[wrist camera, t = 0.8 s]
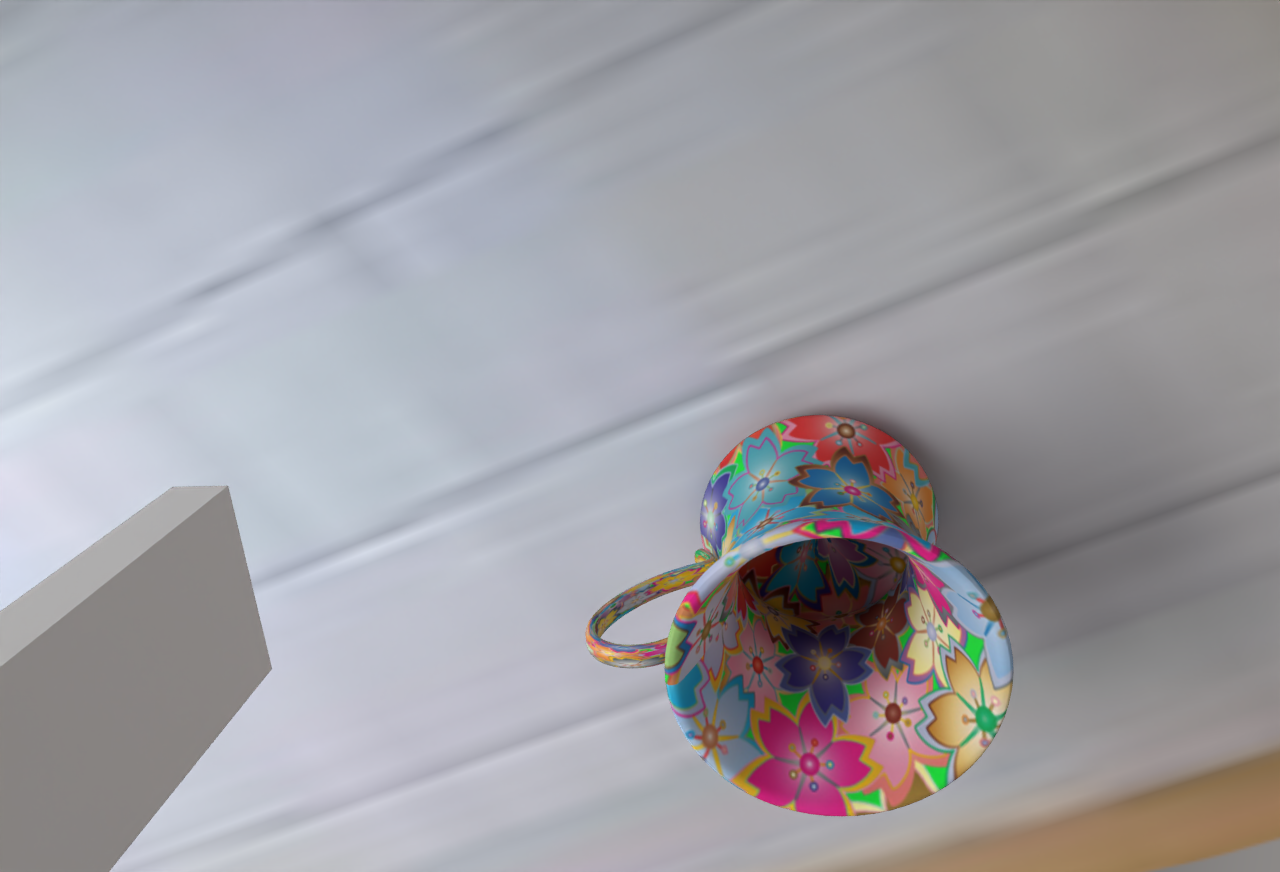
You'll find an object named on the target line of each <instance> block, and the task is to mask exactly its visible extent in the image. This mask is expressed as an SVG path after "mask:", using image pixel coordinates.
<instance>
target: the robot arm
mask: <svg viewBox="0 0 1280 872" xmlns="http://www.w3.org/2000/svg"><path fill="white" fill-rule="evenodd" d="M271 669H272V667H271V663H270V658H269V654H268V650H267V646H266V642H265V638H264V633H263V629H262V625H261V621H260V617H259V613H258V608H257V604H256V600H255V596H254V592H253V588H252V583H251V579H250V575H249V571H248V567H247V563H246V558H245V554H244V550H243V546H242V542H241V538H240V533H239V529H238V525H237V521H236V517H235V513H234V509H233V504H232V500H231V496H230V492H229V488H228V486H194V487H172V488H170V489H169V490H168V491H166V492H165V493H164V494H162V495H161V496H159V497H158V498H157V499H155V500H154V501H152V502H151V503H150V504H148V505H147V506H146V507H144V508H143V509H141V510H140V511H139V512H137V513H136V514H134V515H133V516H132V517H130V518H129V519H128V520H126V521H125V522H123V523H122V524H121V525H119V526H118V527H116V528H115V529H114V530H112V531H111V532H110V533H108V534H107V535H105V536H104V537H103V538H101V539H100V540H98V541H97V542H96V543H94V544H93V545H92V546H90V547H89V548H87V549H86V550H85V551H83V552H82V553H80V554H79V555H78V556H76V557H75V558H74V559H72V560H71V561H69V562H68V563H67V564H65V565H64V566H62V567H61V568H60V569H58V570H57V571H56V572H54V573H53V574H51V575H50V576H49V577H47V578H46V579H44V580H43V581H42V582H40V583H39V584H38V585H36V586H35V587H33V588H32V589H31V590H29V591H28V592H26V593H25V594H24V595H22V596H21V597H20V598H18V599H17V600H15V601H14V602H13V603H11V604H10V605H8V606H7V607H6V608H4V609H3V610H1V611H0V872H109V871H110V870H111V869H112V867H113V866H114V865H115V864H116V862H117V861H118V860H119V859H120V857H121V856H122V855H123V854H124V852H125V851H126V850H127V849H128V847H129V846H130V845H131V844H132V842H133V841H134V840H135V839H136V837H137V836H138V835H139V834H140V832H141V831H142V830H143V829H144V827H145V826H146V825H147V824H148V822H149V821H150V820H151V819H152V817H153V816H154V815H155V814H156V813H157V811H158V810H159V809H160V808H161V806H162V805H163V804H164V803H165V801H166V800H167V799H168V798H169V796H170V795H171V794H172V793H173V791H174V790H175V789H176V788H177V786H178V785H179V784H180V783H181V781H182V780H183V779H184V778H185V776H186V775H187V774H188V773H189V771H190V770H191V769H192V768H193V766H194V765H195V764H196V763H197V761H198V760H199V759H200V758H201V756H202V755H203V754H204V753H205V751H206V750H207V749H208V748H209V746H210V745H211V744H212V743H213V742H214V740H215V739H216V738H217V737H218V735H219V734H220V733H221V732H222V730H223V729H224V728H225V727H226V725H227V724H228V723H229V722H230V720H231V719H232V718H233V717H234V715H235V714H236V713H237V712H238V710H239V709H240V708H241V707H242V705H243V704H244V703H245V702H246V700H247V699H248V698H249V697H250V695H251V694H252V693H253V692H254V690H255V689H256V688H257V687H258V685H259V684H260V683H261V682H262V680H263V679H264V678H265V677H266V676H267V674H268V673H269V672H270V671H271Z"/></svg>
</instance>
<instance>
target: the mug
mask: <svg viewBox="0 0 1280 872" xmlns="http://www.w3.org/2000/svg"><path fill="white" fill-rule="evenodd" d="M700 528H701V537H702V543H703V547H704V549H699V550H697V551H696V552H695V562H696V563H695V564H691V565H688V566H684V567H681V568H678V569H674V570H671V571H668V572H665V573H663V574H660V575H657V576H655V577H652V578H650V579H648V580H645V581H643V582H641V583H639V584H637V585H635V586H633V587H631V588H629V589H627V590H626V591H624V592H622V593H621V594H619V595H617V596H616V597H614V598H613V599H611V600H610V601H609V602H607V603H606V604H605V605H603V606H602V607H601V608H600V609H599V610H598V611H597V612H596V613H595V614H594V615H593V617H592V618H591V619H590V621H589V623H588V625H587V628H586V633H585V635H586V644H587V648H588V650H589V652H590V654H591V655H592V656H593V657H594V658H595V659H597V660H598V661H600V662H602V663H604V664H607V665H610V666H614V667H620V668H644V667H650V666H655V665H659V664H663V663H665V682H666V687H667V693H668V697H669V701H670V704H671V708H672V710H673V713H674V715H675V718H676V720H677V722H678V724H679V726H680V728H681V730H682V732H683V733H684V735H685V737H686V738H687V740H688V741H689V743H690V744H691V746H692V747H693V748H694V750H695V751H696V752H697V753H698V754H699V756H700V757H701V758H702V759H703V760H704V761H705V762H706V763H707V764H708V765H709V766H710V767H711V768H712V769H713V770H714V771H715V772H717V773H718V774H719V775H720V776H722V777H723V778H724V779H725V780H727V781H728V782H730V783H731V784H733V785H734V786H736V787H737V788H739V789H741V790H742V791H744V792H746V793H748V794H750V795H752V796H754V797H756V798H758V799H760V800H763V801H765V802H768V803H770V804H773V805H776V806H779V807H782V808H786V809H789V810H793V811H797V812H803V813H808V814H815V815H824V816H859V815H867V814H875V813H880V812H885V811H890V810H893V809H897V808H900V807H903V806H907V805H909V804H912V803H914V802H917V801H920V800H922V799H924V798H926V797H928V796H930V795H932V794H934V793H936V792H938V791H939V790H941V789H943V788H944V787H946V786H948V785H949V784H950V783H952V782H953V781H954V780H956V779H957V778H959V777H960V776H961V775H962V774H963V773H964V772H966V771H967V770H968V769H969V768H970V767H971V766H972V765H973V764H974V763H975V762H976V761H977V760H978V759H979V758H980V757H981V756H982V754H983V753H984V752H985V750H986V749H987V748H988V746H989V745H990V744H991V742H992V740H993V739H994V737H995V735H996V734H997V732H998V730H999V728H1000V726H1001V724H1002V721H1003V719H1004V717H1005V714H1006V711H1007V708H1008V705H1009V701H1010V696H1011V691H1012V684H1013V656H1012V650H1011V644H1010V640H1009V637H1008V633H1007V630H1006V627H1005V625H1004V622H1003V620H1002V617H1001V615H1000V613H999V611H998V609H997V607H996V605H995V604H994V602H993V600H992V598H991V597H990V596H989V594H988V593H987V591H986V590H985V589H984V587H983V586H982V585H981V584H980V582H979V581H978V580H977V579H976V578H975V577H974V576H973V575H972V574H971V573H970V572H969V571H968V570H967V569H966V568H965V567H964V566H963V565H962V564H960V563H959V562H958V561H957V560H955V559H954V558H953V557H951V556H950V555H949V554H947V553H946V552H944V551H943V550H941V549H939V548H938V547H936V546H935V544H936V539H937V533H938V509H937V504H936V499H935V495H934V492H933V489H932V486H931V484H930V482H929V479H928V477H927V476H926V474H925V472H924V470H923V469H922V467H921V466H920V464H919V463H918V462H917V460H916V459H915V458H914V457H913V456H912V454H911V453H910V452H909V451H908V450H907V449H906V448H904V447H903V446H902V445H901V444H900V443H899V442H897V441H896V440H895V439H893V438H892V437H891V436H889V435H887V434H886V433H884V432H882V431H881V430H879V429H877V428H875V427H873V426H870V425H868V424H865V423H863V422H860V421H857V420H853V419H849V418H844V417H838V416H828V415H810V416H801V417H795V418H790V419H786V420H783V421H780V422H776V423H774V424H771V425H769V426H767V427H764V428H762V429H761V430H759V431H757V432H755V433H753V434H752V435H750V436H749V437H747V438H746V439H744V440H743V441H742V442H741V443H739V444H738V445H737V446H736V447H735V448H734V449H733V450H732V451H731V452H730V453H729V454H728V455H727V456H726V457H725V458H724V459H723V461H722V462H721V463H720V465H719V466H718V468H717V469H716V470H715V472H714V474H713V476H712V478H711V479H710V481H709V484H708V486H707V489H706V491H705V495H704V498H703V502H702V508H701V517H700ZM692 585H693V586H692ZM689 586H692V588H691V589H690V591H689V592H688V593H687V595H686V596H685V598H684V600H683V601H682V603H681V605H680V607H679V609H678V611H677V613H676V615H675V618H674V620H673V623H672V625H671V629H670V632H669V636H668V638H665V639H662V640H659V641H656V642H651V643H646V644H639V645H620V644H614V643H610V642H607V641H605V640H603V639H601V638H600V637H601V636H602V634H603V633H604V632H605V631H606V630H607V629H608V628H609V627H610V626H611V625H612V624H613V623H614V622H616V621H617V620H618V619H620V618H621V617H622V616H624V615H625V614H627V613H629V612H630V611H632V610H633V609H635V608H637V607H639V606H641V605H643V604H645V603H647V602H649V601H651V600H653V599H655V598H657V597H660V596H662V595H665V594H668V593H670V592H673V591H676V590H679V589H682V588H686V587H689Z"/></svg>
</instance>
